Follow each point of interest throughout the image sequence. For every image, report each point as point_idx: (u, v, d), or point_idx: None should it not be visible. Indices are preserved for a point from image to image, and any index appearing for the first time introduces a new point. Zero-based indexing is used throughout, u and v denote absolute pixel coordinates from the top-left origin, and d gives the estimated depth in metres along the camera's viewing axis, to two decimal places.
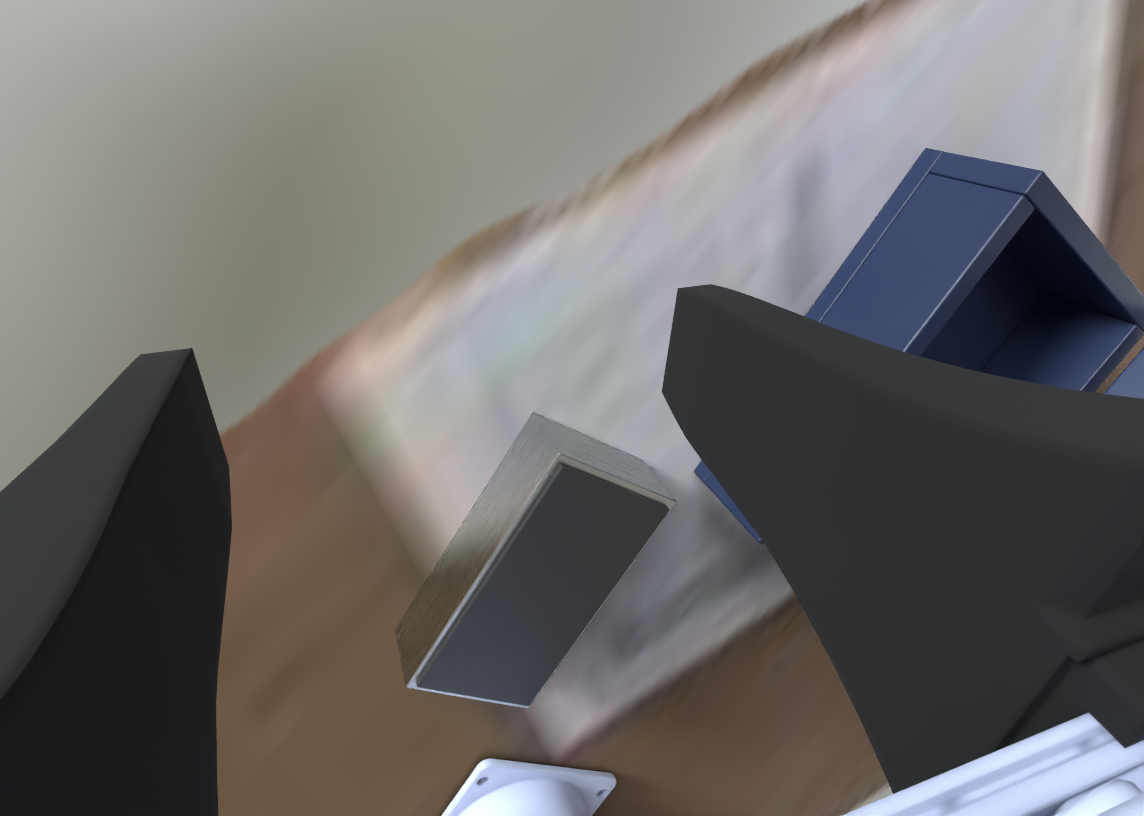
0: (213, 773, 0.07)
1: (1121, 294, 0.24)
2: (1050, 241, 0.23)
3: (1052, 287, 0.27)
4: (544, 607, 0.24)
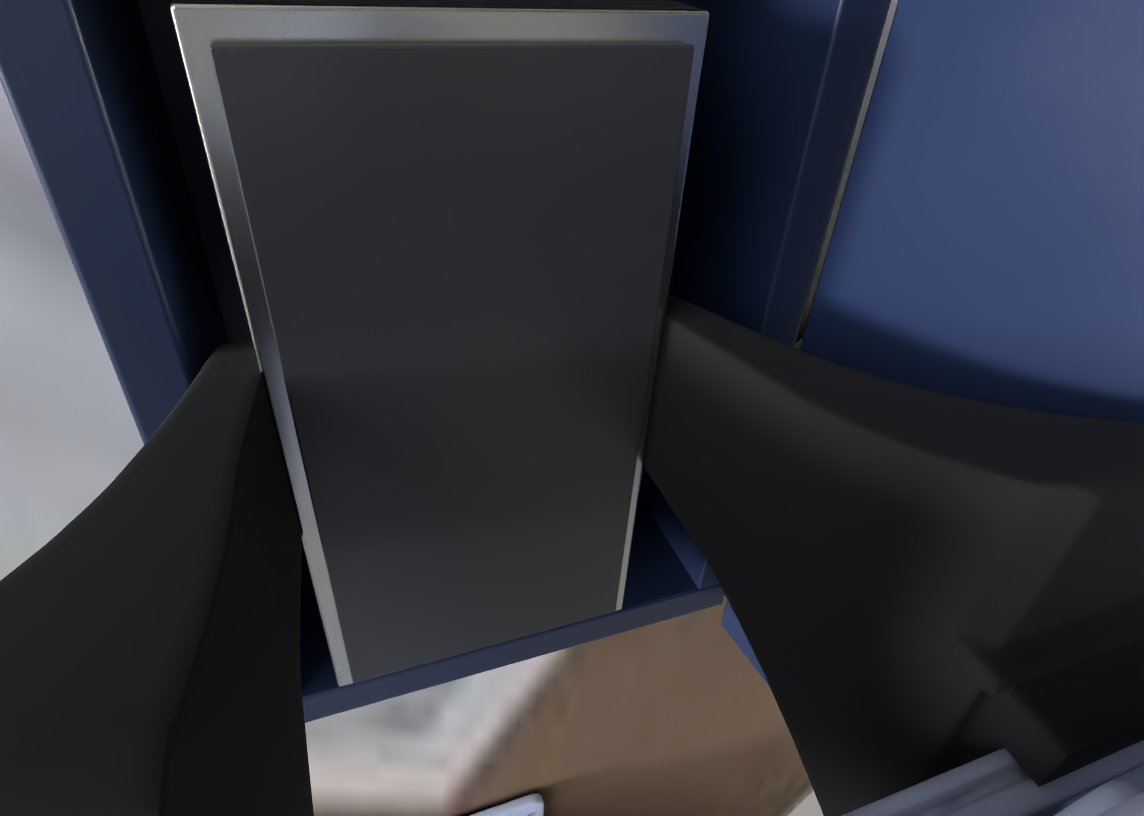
0: (305, 746, 0.08)
1: None
2: None
3: None
4: (504, 450, 0.10)
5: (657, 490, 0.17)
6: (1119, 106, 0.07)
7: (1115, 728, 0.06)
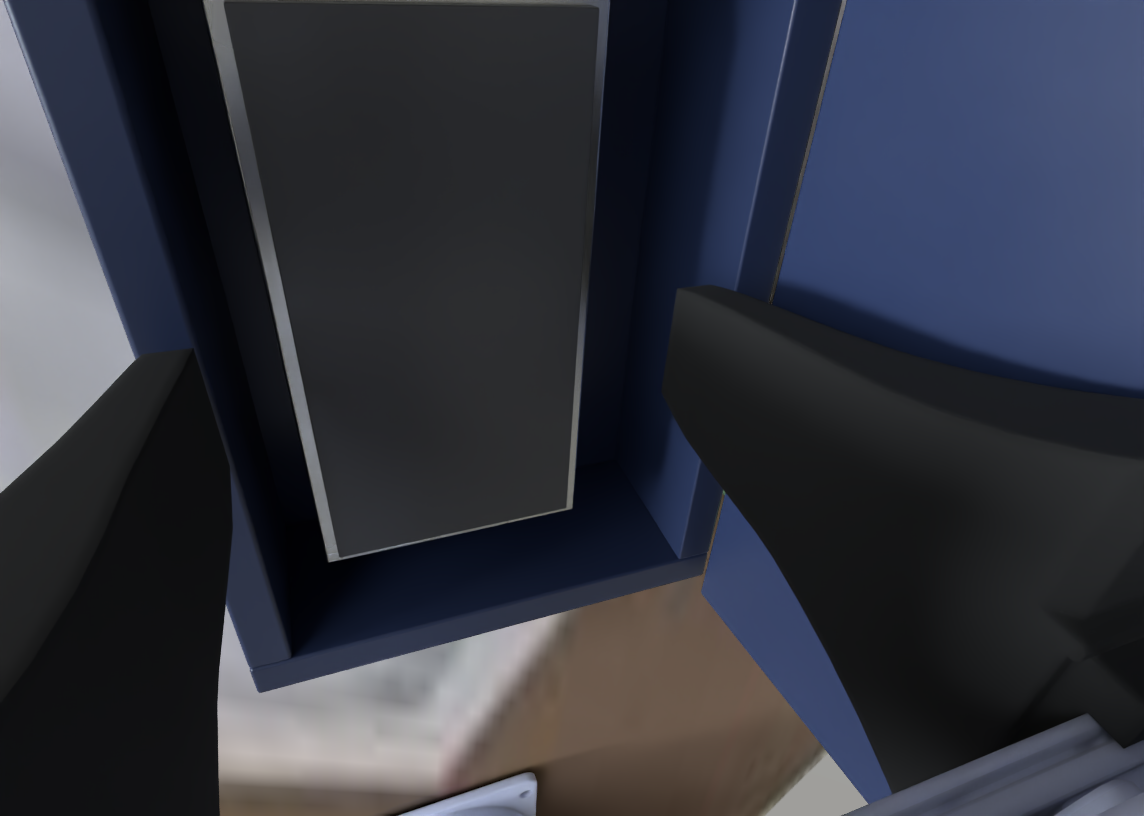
0: (215, 772, 0.07)
1: None
2: None
3: None
4: (461, 347, 0.12)
5: (641, 466, 0.17)
6: (1037, 87, 0.07)
7: None
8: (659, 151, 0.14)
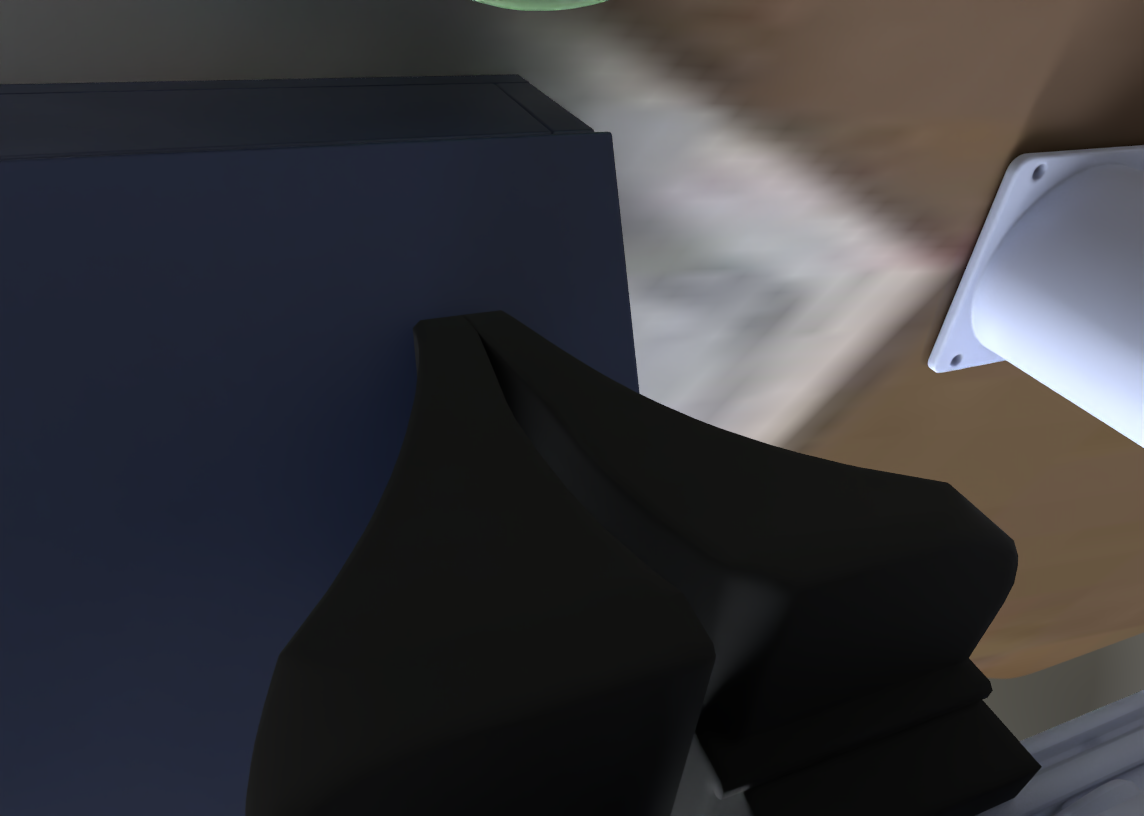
0: None
1: None
2: None
3: None
4: None
5: None
6: None
7: None
8: None
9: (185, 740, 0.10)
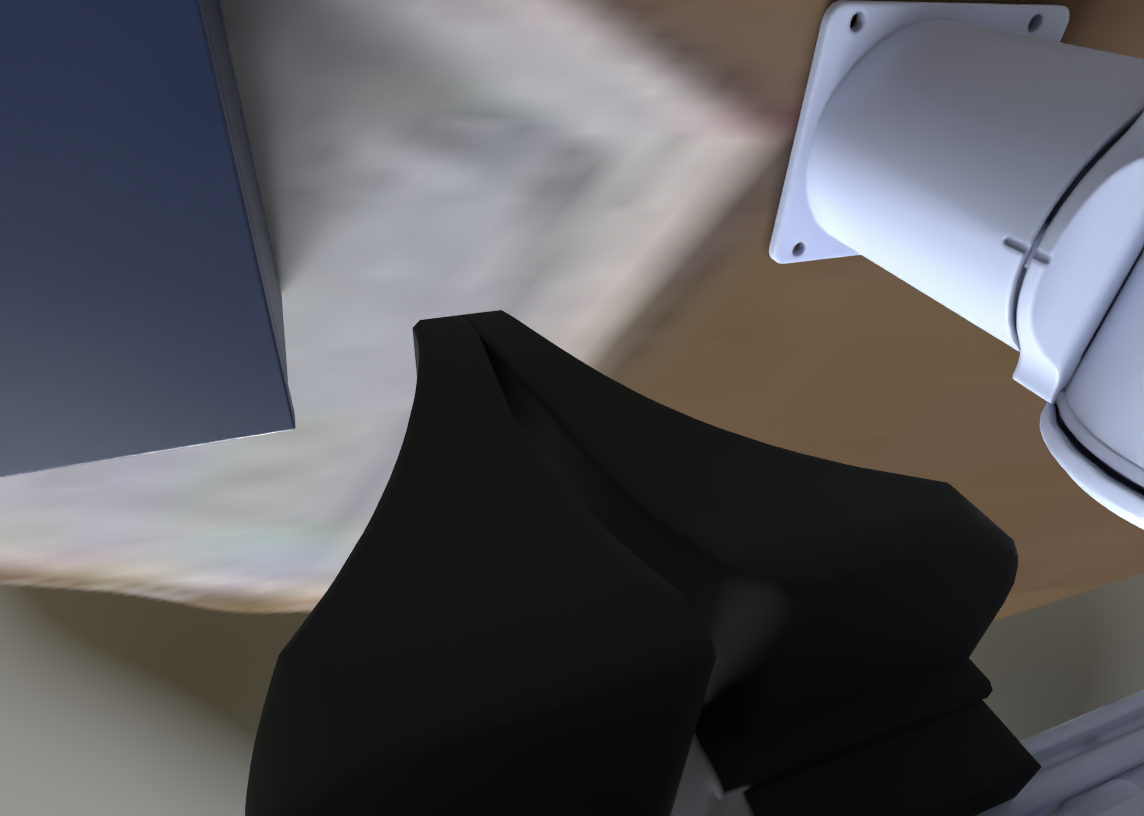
0: None
1: None
2: None
3: None
4: None
5: None
6: None
7: None
8: None
9: None
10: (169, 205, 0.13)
